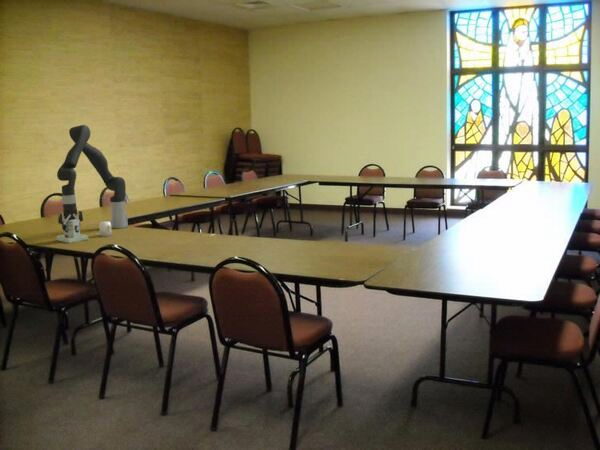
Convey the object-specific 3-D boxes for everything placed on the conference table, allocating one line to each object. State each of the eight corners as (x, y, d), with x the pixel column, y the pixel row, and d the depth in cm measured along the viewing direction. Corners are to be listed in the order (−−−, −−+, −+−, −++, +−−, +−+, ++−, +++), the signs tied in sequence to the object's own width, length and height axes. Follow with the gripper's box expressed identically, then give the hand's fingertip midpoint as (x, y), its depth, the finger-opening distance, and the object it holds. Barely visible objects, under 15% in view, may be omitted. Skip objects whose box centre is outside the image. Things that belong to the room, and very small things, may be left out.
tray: (75, 237, 396) (74, 233, 395) (88, 240, 385) (87, 235, 385) (56, 240, 387) (56, 235, 387) (69, 243, 377) (69, 238, 376)
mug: (108, 233, 405) (107, 221, 403) (116, 235, 398) (115, 222, 397) (97, 235, 400) (96, 222, 398) (105, 237, 393) (104, 224, 392)
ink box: (64, 239, 386) (62, 219, 385) (71, 237, 391) (69, 218, 389) (74, 240, 382) (72, 220, 380) (80, 238, 386) (79, 219, 384)
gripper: (77, 200, 390) (79, 227, 393) (54, 203, 380) (57, 230, 383) (83, 201, 385) (85, 228, 388) (60, 204, 375) (63, 232, 377)
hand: (71, 229), depth 385 cm, fingers open, 8 cm apart
